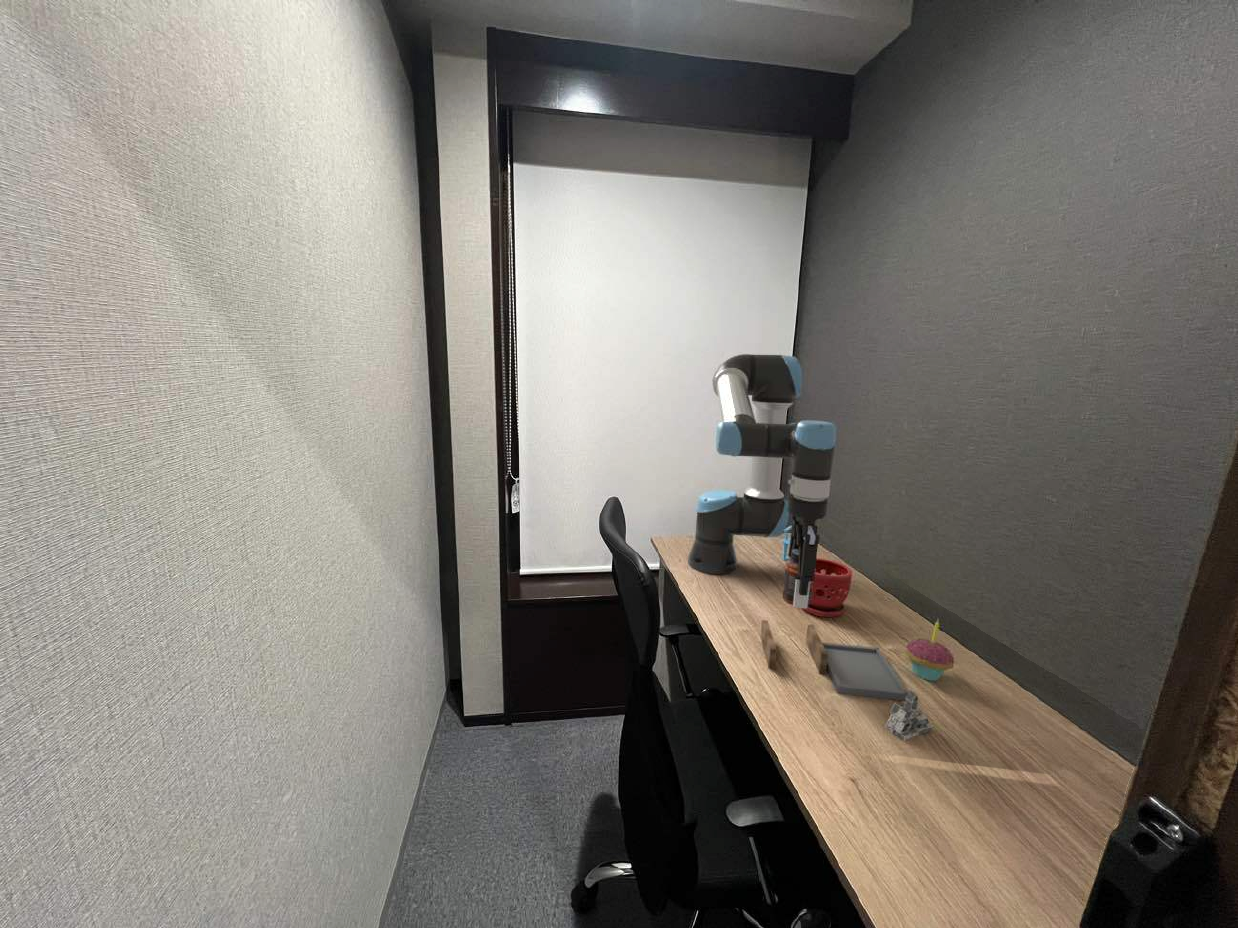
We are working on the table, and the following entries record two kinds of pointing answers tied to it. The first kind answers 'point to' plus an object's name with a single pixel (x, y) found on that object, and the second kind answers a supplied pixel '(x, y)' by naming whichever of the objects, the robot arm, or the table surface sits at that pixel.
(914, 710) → the house of cards
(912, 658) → the cupcake
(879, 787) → the table surface
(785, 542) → the chair
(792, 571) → the supplement bottle
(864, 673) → the tray
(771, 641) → the cradle
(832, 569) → the plant pot
